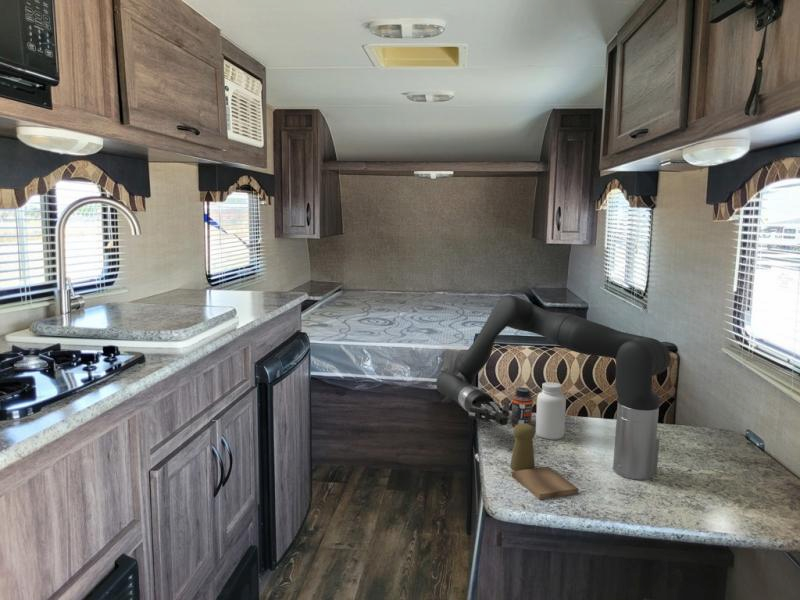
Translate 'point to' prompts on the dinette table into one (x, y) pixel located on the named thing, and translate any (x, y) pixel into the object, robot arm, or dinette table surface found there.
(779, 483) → the dinette table surface
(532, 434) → the cork
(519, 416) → the supplement bottle
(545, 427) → the pill bottle
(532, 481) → the walnut board
